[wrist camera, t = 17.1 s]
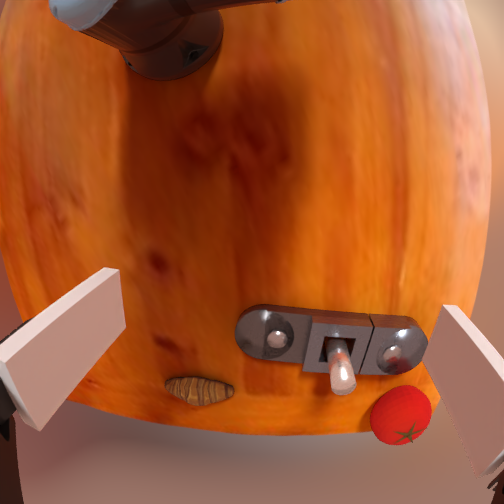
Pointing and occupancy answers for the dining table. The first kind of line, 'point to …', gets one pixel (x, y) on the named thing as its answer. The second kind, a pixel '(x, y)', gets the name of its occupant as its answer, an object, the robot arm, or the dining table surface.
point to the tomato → (400, 415)
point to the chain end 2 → (368, 343)
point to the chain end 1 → (281, 331)
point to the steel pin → (339, 365)
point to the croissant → (199, 390)
